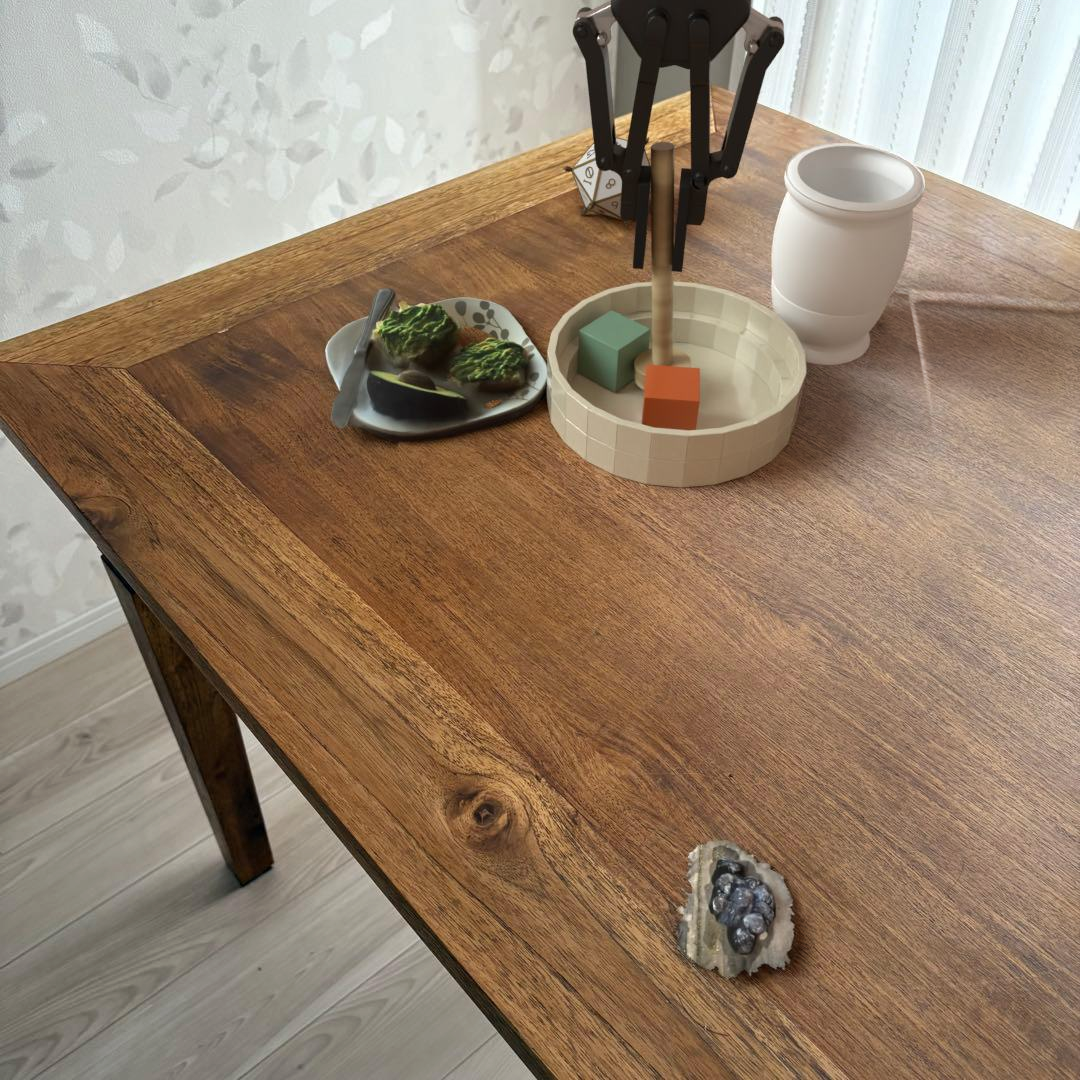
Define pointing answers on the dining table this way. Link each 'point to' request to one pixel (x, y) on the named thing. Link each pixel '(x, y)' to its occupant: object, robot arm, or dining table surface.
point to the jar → (841, 244)
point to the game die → (600, 184)
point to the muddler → (661, 266)
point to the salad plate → (432, 369)
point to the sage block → (611, 349)
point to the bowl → (725, 389)
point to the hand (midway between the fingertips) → (658, 259)
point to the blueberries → (734, 911)
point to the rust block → (671, 397)
